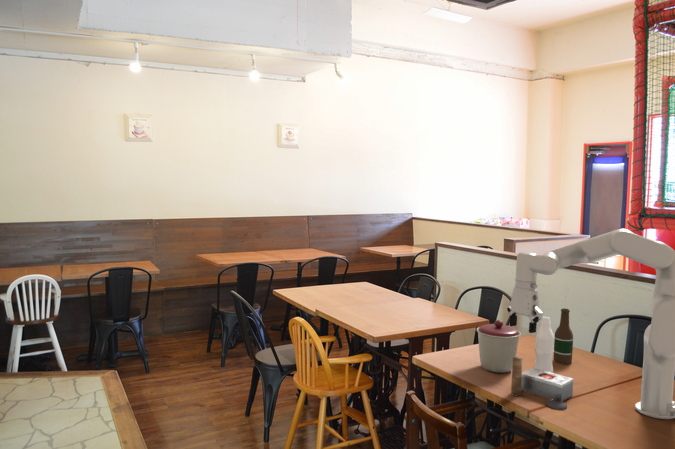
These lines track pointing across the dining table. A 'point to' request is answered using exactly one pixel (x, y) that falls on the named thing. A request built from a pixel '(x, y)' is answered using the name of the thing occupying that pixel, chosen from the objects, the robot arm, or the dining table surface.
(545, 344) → the water bottle
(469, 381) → the dining table surface
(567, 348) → the beer bottle
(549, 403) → the coaster
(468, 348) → the dining table surface
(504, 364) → the canister
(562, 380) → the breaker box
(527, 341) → the dining table surface
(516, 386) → the brown wooden block
